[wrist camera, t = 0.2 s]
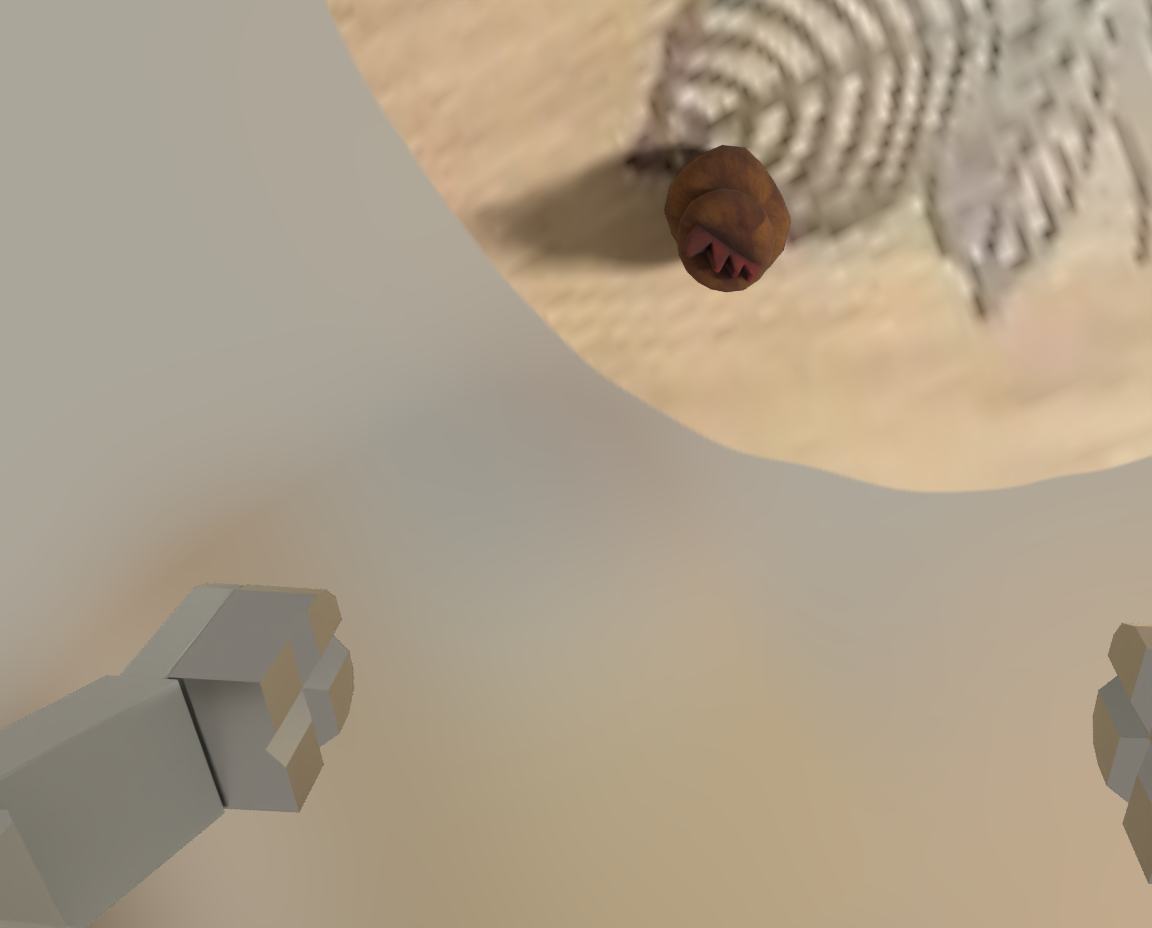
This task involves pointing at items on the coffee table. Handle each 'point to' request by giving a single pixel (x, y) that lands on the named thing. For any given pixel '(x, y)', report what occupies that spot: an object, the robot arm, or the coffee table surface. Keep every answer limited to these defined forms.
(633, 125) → the coffee table surface
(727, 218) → the wooden figurine
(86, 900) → the robot arm
